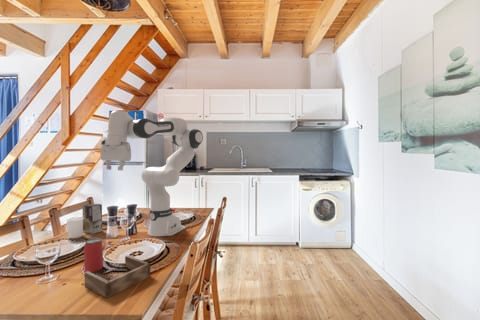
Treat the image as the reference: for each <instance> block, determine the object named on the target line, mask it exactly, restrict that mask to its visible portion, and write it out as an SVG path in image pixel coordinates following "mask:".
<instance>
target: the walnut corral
mask: <svg viewBox="0 0 480 320" xmlns="http://www.w3.org/2000/svg"><path fill="white" fill-rule="evenodd" d="M124 259H125V260H124V264H125V263H126V267H127V268H128V269H130V270H129V271H127V272H125V273H122V274H121V275H119V276H117V277H116V276H115V278H112V279H110V280H108V279H106V278H103V277H101V276H99V275H97V274H94V272H89V271H87V272H86V271H85V272H84V286H85V288H88V289H90V290H92V291H93V292H95V293H97V294H99V295H101V296H103V297H105V298H106V299H108V298H111V297H112V296H115V295H117V294H119V293H120V292H122V291H124V290H126V289H129V288H130V287H132V286H134V285H136V284H138V283H140V282H142V281H144V280H146V279H148V278H149V277H151V263H150V262H147V261H145V260H141V259H138V258H137V257H133V256H131V255H126V256H125V257H124ZM128 269H127V270H128Z"/></svg>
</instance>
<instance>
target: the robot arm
mask: <svg viewBox="0 0 480 320" xmlns="http://www.w3.org/2000/svg"><path fill="white" fill-rule="evenodd" d="M107 127H108V133H107V137H106V138H105V139H102V140H101V142H100V145H101V147H100V157H99V158H100V160H101V161H105V166H106V169H105V170H108V171H109V170H112V166H111V163H112V161H113V162H119V166H117V171H124V166H125V164H126V162H130V161H131V160H132V147H131V144H130V143H129V142H128V141H127V139H131V140H133V139H150V138H152V137H153V136H155V135H157V134H161V135H162V136H170V137H171V139H172V143H173V145H175V146H176V147H177V146H178V147H179V148H178V149H177V150H176V151H175V152H173V153H172V154H171V155H170V156H168V157H167V158H166V161H165V164H164V165H163V166H155V165H154V166H153V165H152V166H148V167H145V168H144V169H143V170H142V172H141V179H142V181H143V182H144V183H145V185H146V188H147V189H148V194H149V201H150V203H149V205H150V206H149V207H150V209H149V226H148V231H147V235H148V236H151V237H169V236H171V237H172V236H174V235H175V234H178V233H179V232H182V231H183V230H185V229H186V226H184V225H182V222H181V219H180V218H179V217H178V216H177V215H175V214H173V212H176V208H175V207H171V196H170V193H169V192H168V191H167V190H166V188H165V187H167V188H168V187H172V186H175V185H177V184H178V182H179V180H180V174H179V173H180V172H181V171H182V170H183V169H184V168H185V167H187V165H188V164H190V162H191V161H192V160H193V159H194V157H195V155H196V154H195V153H196V152H195V150H196V149H198V148H199V147H200V145H201V144H202V142H203V139H204V135H203V133H202V131H201V130H199V129H196V128H193V129H190V128H188V124H187V121H186V120H185V119H184V118H180V117H176V116H175V117H173V116H172V117H169V116H168V117H163V118H161V119H160V120H159V121H154V120H151V119H150V118H145V117H143V118H140V119H135V118H133V117H132V116H131V115H130V114H129V113H128V111H127V110H113V111H111V112H110V114H109V118H108V126H107Z"/></svg>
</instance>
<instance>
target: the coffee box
mask: <svg viewBox="0 0 480 320" xmlns="http://www.w3.org/2000/svg"><path fill="white" fill-rule="evenodd" d="M102 206H103V204H101V203H94V202H93V203H86V204H83V205H82V217H83V218H84V220H83V233H87V234H96V233H99V232H102V231H103V211H102V209H103V207H102Z"/></svg>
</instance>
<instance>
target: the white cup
mask: <svg viewBox="0 0 480 320" xmlns="http://www.w3.org/2000/svg"><path fill="white" fill-rule="evenodd" d="M83 220H84V218H83V216H75V217H70V218H67V219H66V224H67V225H66V226H67V235H68V237H67V238H68V239H78V238H82V237H83V234H84V232H83Z"/></svg>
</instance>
